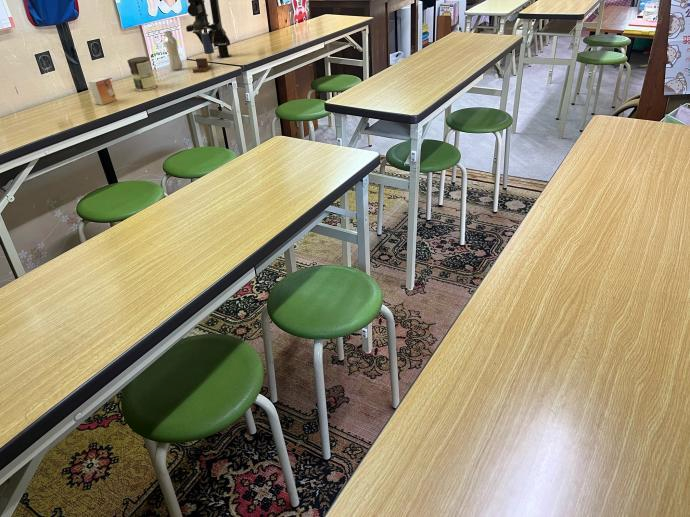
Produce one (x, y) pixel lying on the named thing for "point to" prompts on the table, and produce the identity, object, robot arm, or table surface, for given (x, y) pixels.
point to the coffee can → (142, 73)
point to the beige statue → (172, 51)
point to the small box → (102, 90)
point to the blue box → (207, 43)
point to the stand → (201, 65)
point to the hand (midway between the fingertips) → (207, 44)
